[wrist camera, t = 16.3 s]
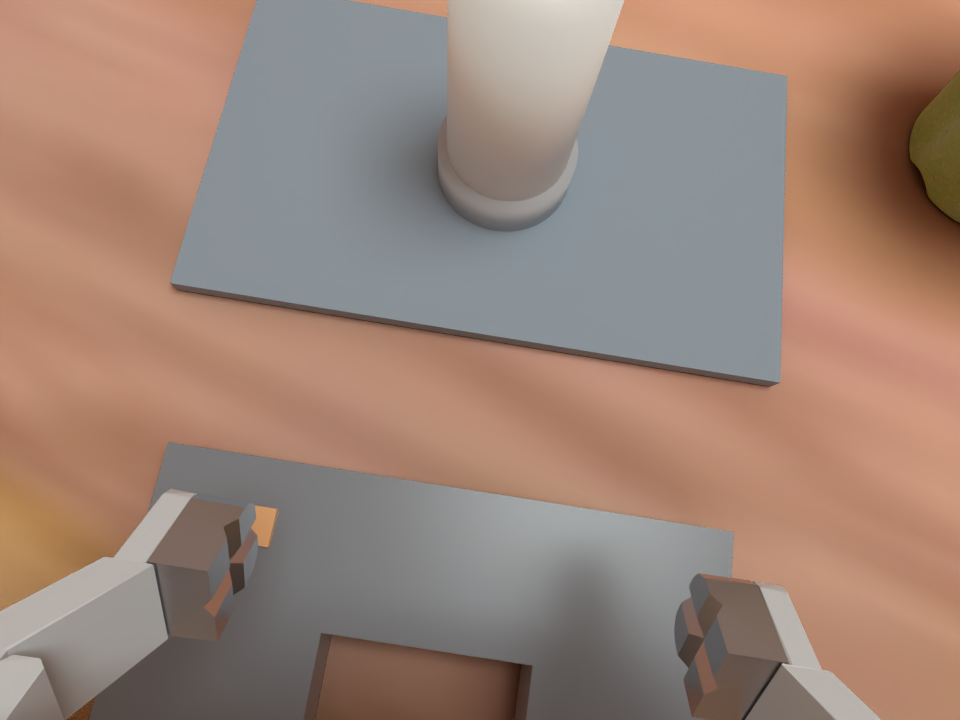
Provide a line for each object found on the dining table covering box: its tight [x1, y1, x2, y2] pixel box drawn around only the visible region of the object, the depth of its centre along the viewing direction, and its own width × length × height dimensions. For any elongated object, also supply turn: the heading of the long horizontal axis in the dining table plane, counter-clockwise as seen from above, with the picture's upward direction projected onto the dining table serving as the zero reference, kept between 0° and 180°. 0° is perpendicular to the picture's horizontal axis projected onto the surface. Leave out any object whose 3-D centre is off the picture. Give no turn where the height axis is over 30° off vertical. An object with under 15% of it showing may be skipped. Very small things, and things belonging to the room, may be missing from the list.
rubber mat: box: [170, 0, 787, 386], centre depth 21 cm, size 20×12×1 cm, turn 81°
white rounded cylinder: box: [438, 0, 624, 232], centre depth 17 cm, size 5×5×8 cm
